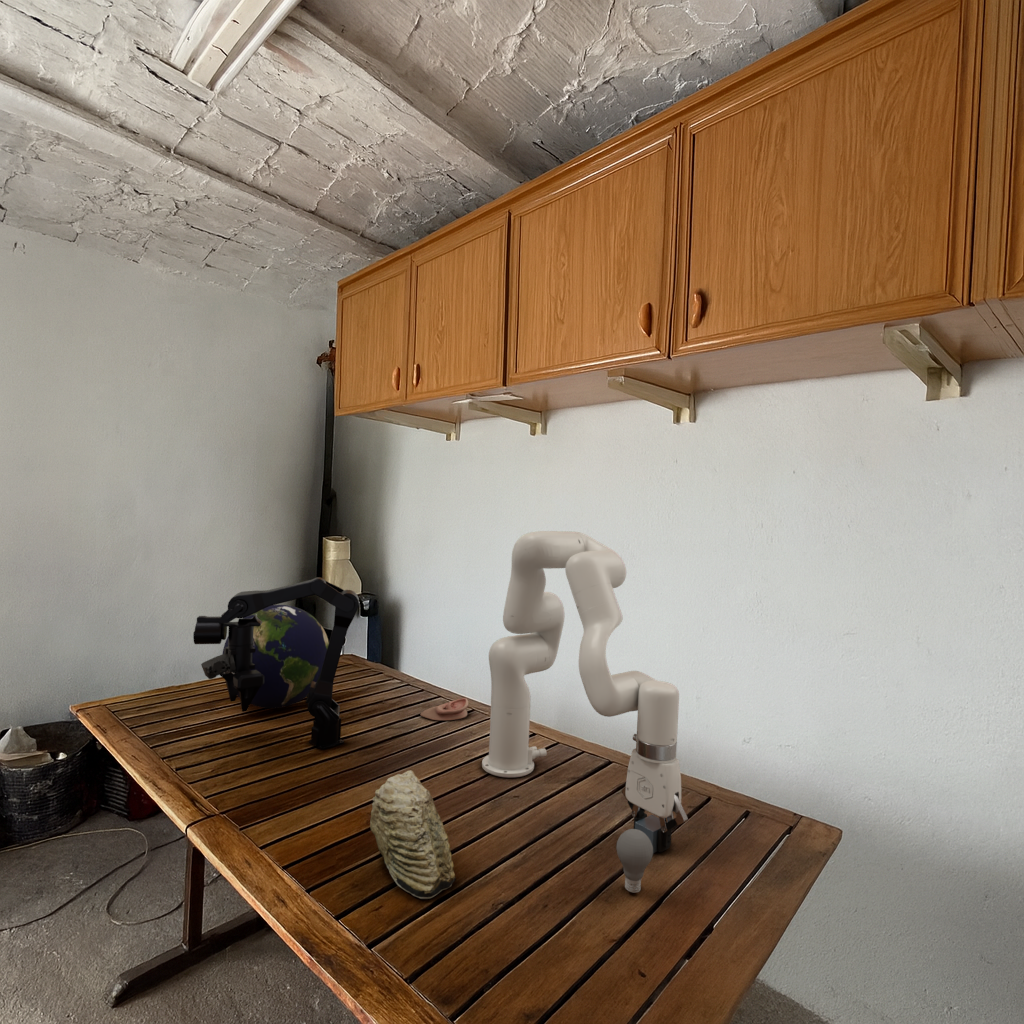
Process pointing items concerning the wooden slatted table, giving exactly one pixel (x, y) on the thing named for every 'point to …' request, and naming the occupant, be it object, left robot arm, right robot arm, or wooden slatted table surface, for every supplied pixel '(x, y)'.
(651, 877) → the wooden slatted table surface
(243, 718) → the wooden slatted table surface
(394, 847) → the fossil
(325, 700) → the left robot arm
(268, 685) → the globe
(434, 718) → the anatomical model
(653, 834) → the blue-grey block
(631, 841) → the light bulb
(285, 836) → the wooden slatted table surface
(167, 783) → the wooden slatted table surface
